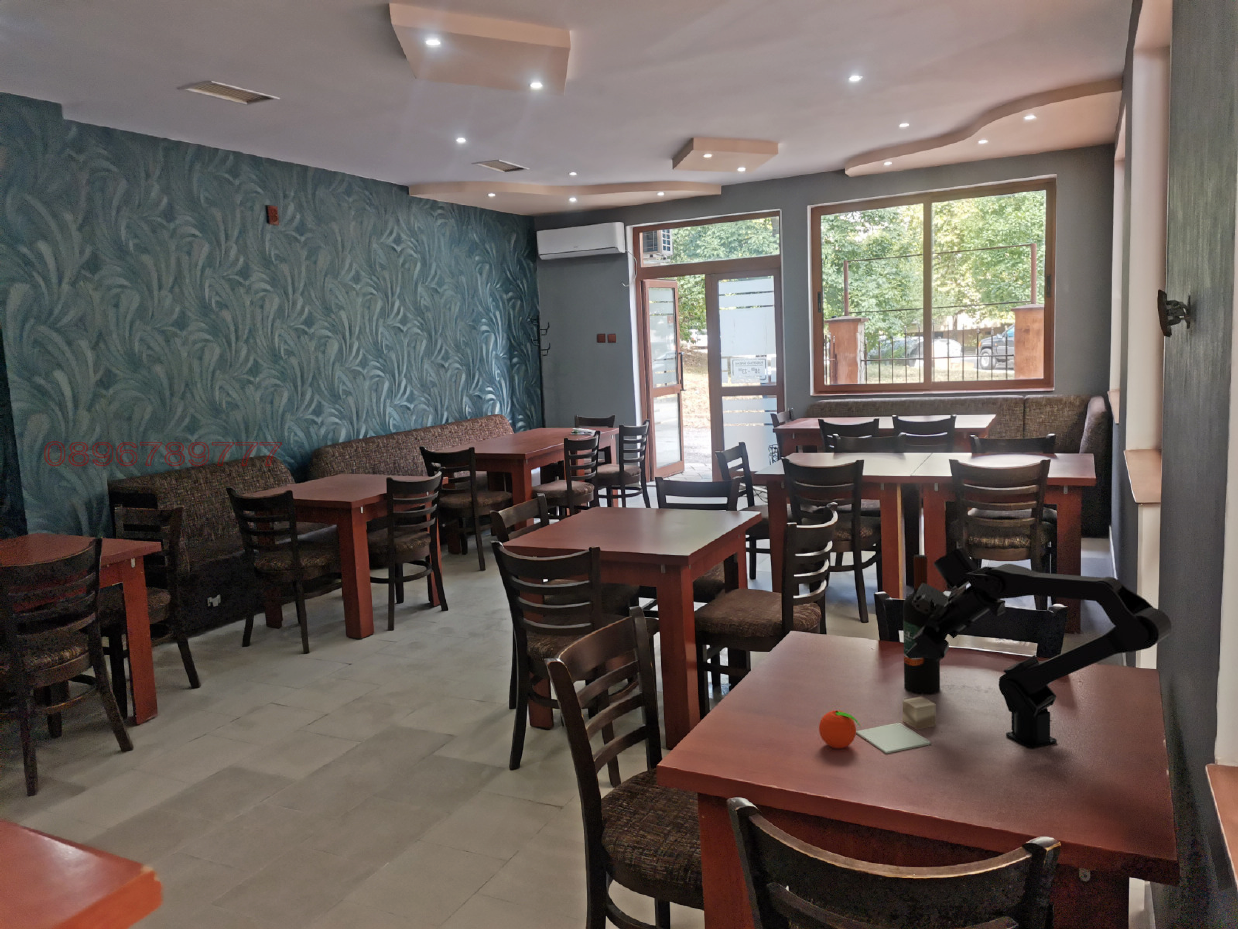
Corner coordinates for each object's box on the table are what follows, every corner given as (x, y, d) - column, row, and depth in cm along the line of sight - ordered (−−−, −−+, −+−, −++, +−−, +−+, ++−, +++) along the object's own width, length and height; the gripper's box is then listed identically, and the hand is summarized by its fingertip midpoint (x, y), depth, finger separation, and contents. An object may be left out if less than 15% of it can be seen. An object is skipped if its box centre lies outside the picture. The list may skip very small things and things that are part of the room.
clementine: (866, 743, 169) (865, 708, 168) (856, 758, 163) (855, 721, 162) (825, 736, 173) (824, 701, 172) (814, 750, 167) (813, 714, 166)
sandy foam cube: (935, 725, 175) (935, 704, 175) (916, 729, 174) (916, 708, 173) (921, 717, 180) (921, 696, 179) (902, 721, 178) (902, 700, 178)
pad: (931, 744, 167) (931, 742, 167) (886, 753, 164) (886, 751, 164) (899, 724, 177) (899, 722, 176) (856, 733, 174) (855, 731, 173)
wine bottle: (942, 695, 190) (941, 560, 187) (906, 694, 192) (904, 560, 188) (937, 682, 198) (936, 552, 194) (902, 681, 199) (900, 552, 196)
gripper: (948, 556, 182) (899, 595, 192) (922, 600, 168) (870, 640, 178) (990, 594, 180) (937, 632, 190) (967, 643, 166) (912, 680, 176)
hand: (914, 644), depth 184 cm, fingers open, 9 cm apart
